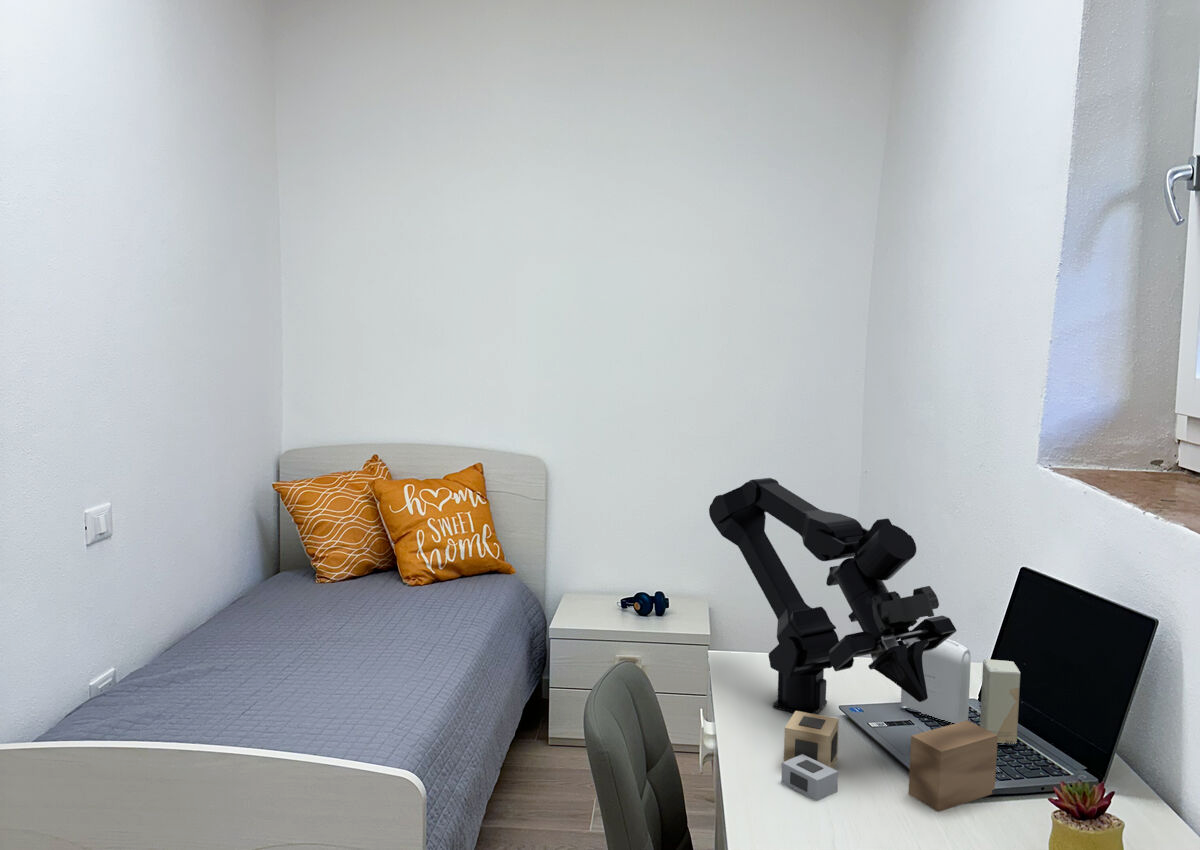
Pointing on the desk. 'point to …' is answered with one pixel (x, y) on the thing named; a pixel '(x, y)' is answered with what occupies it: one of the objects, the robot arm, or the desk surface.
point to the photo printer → (944, 683)
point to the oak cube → (812, 737)
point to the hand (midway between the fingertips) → (923, 700)
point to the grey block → (809, 777)
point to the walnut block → (952, 765)
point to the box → (1000, 699)
